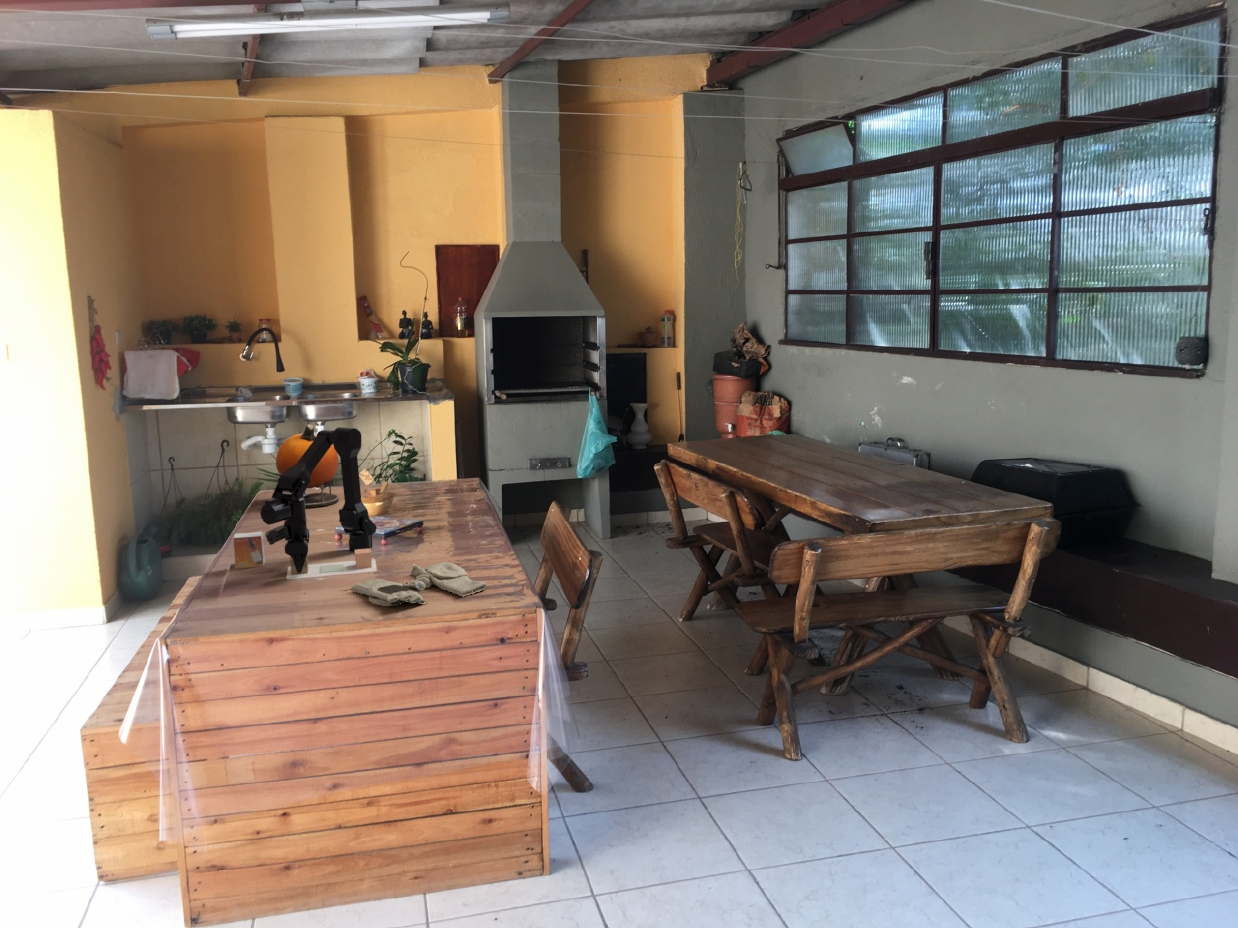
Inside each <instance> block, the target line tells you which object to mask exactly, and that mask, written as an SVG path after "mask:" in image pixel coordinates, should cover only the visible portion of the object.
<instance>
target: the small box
mask: <svg viewBox="0 0 1238 928" xmlns="http://www.w3.org/2000/svg"><path fill="white" fill-rule="evenodd" d="M263 534H264V533H263V531H255V532H246V533H245V532H244V533H234V536H233V538H232V539H233V540H232V541H233V553H234V554H233V555H234V565H235V566H234V568H235V569H236V570H237V569H249V568H258V567H264V566H265V551H264V550H265V549H264V535H263Z"/></svg>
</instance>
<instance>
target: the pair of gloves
mask: <svg viewBox="0 0 1238 928" xmlns="http://www.w3.org/2000/svg"><path fill="white" fill-rule="evenodd" d="M410 572H411V573H410V575H411V576H415V580H410V582H409V583H404V584H403V583H400V582H395V581H389V580H386V579H383V578H374V579H368V580H365V581H361V582H359V583H354V585H352V587H351V590H352V592H353V591H354V593H356V592H357V593H356V594H359V593H360V595H363V594H365V596H369V597H368V602H369V601H370V602H371V603H370V602H369V603H370V604H372V603H373V604H372V605H374V604H377V605H376V606H378V605H382V606H381V607H383V606H395V605H397V606H399V605H398V604H400V603H403V602H406V601H408V602H407V603H410V604H415V603H418V604H422V603H424V602H428V601H427V600H426V599H424V598H423V596H422V595H421V594H420V593H422V592H423V591H424V590H426V589H425V588H427V589H429V588H431V587H433V586H435V585H436V586H435V587H438V588H439V589H441V590H442V591H446V590H447V591H446V592H449V593H450V592H452V593H451V594H453V593H455V594H457V595H459V596H458V597H460V596H463V595H466V594H470V593H473V592H477V591H480V590H484V591H485V590H486V588H487V582H483V581H481V580H472V579H471V578H470V577H469V576H467V575H468V573H467V571H466V570H465V569H464V568H462V567H461V566H460V565H457V564H455V563H453V562H449V561H444V562H438V563H436V564H431V565H429V566H426V567H425V568H421V567H420V566H419V565H417V564H414V565H413V566H412V569H411V571H410ZM472 591H473V592H472ZM455 594H454V595H455ZM457 595H456V596H457ZM400 605H401V604H400ZM395 607H396V606H395Z"/></svg>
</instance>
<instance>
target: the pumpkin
mask: <svg viewBox="0 0 1238 928" xmlns="http://www.w3.org/2000/svg"><path fill="white" fill-rule="evenodd" d="M316 436H317V434H315V429H314V425H313V424H306V426H305V428H304V430H303V432H302V433H297V434H296V433H295V434H294V435H292V436H290V437H288V438H286V439H285V440H284V441H283V442H282V444H280V447H279V449H278V451H277V454H276V458H275V467H276V470H277V472H278V474H280V475H281V474H283V473H284V472H285V471H286V470H287V469H288V468H290V467H292V466H294V465H295V464H296V463H297V462H298V461H299V460H300V458H301V457H302V456H303V454H304V453H305V452H306V450H307V449H308V448H309V446H310V445H311V444H312V442H313V441H314V440H315V438H316ZM338 467H339V455H338V453H337V452H336V450H335V449H334V445H333V444H332V445H331V447H330V448H329V450H328V451H327V452H326V454H325V455H324V456H323V458H322V459H321V461H320V462H319V463H318V465H317V466H316V467H315V469H314V470H313V472H312V473H311V481H310V483H309V485H308V487H307V489H312V488H316V487H318V488H320V490H321V492H314V493H313V492H311V493H307V494H308V495H309V496H310V498H308V499H305V509H307V508H309V509H310V508H318V507H324V506H331V505H333V504H336V503H338V502H339V500H340V498H339V496H338V495H336V494H334V493H332V487H331V486H332V485H334V483H335V481H334V478H335V475H336V474H337V471H338ZM327 487H328V489H329V492H324V490H325V489H326V488H327ZM290 494H292V493H290Z"/></svg>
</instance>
